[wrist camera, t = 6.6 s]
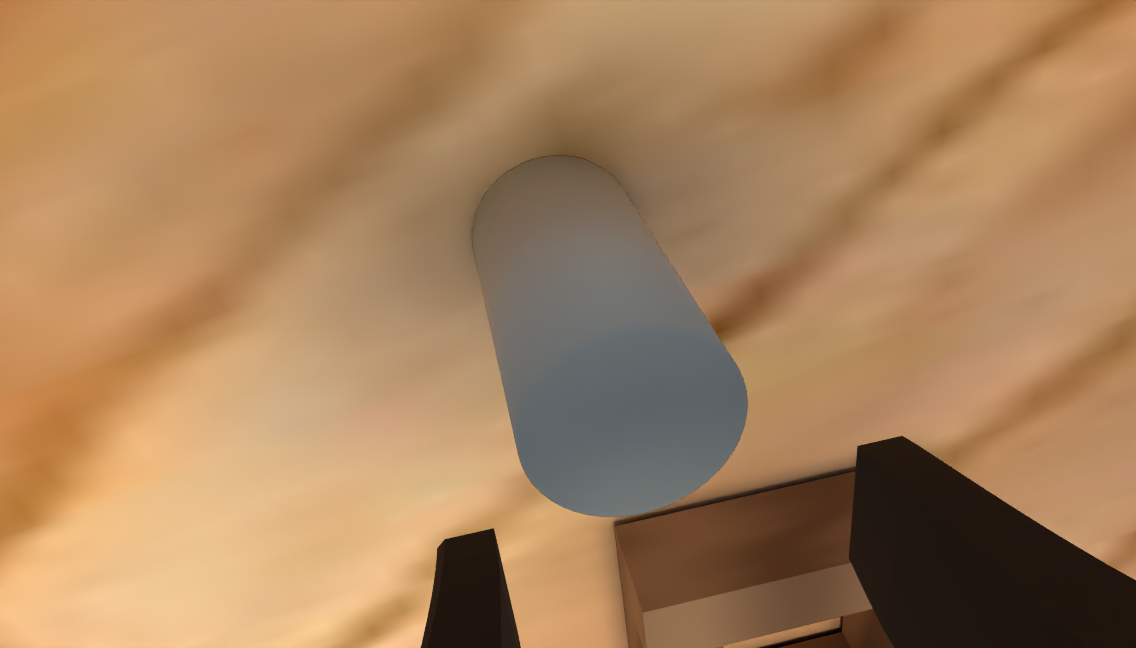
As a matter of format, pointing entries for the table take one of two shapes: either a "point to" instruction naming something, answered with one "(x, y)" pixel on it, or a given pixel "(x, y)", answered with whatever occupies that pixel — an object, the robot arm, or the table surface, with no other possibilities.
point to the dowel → (600, 344)
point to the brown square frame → (747, 571)
